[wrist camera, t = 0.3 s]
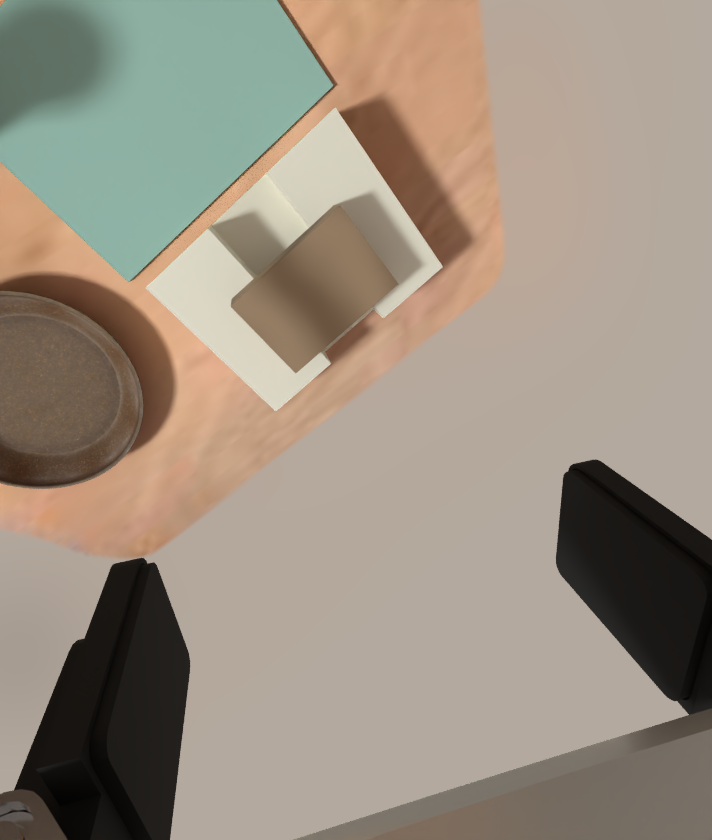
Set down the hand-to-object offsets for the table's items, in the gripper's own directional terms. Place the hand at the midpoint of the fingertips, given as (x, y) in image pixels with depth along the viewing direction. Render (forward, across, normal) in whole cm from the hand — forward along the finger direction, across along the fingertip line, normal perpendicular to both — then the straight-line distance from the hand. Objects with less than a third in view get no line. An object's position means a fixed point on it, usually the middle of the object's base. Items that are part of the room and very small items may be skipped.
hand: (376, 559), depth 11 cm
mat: (+29, +6, -15) cm, 33 cm away
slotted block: (+29, -2, -3) cm, 29 cm away
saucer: (+30, +18, +3) cm, 35 cm away
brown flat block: (+25, -2, -2) cm, 25 cm away
